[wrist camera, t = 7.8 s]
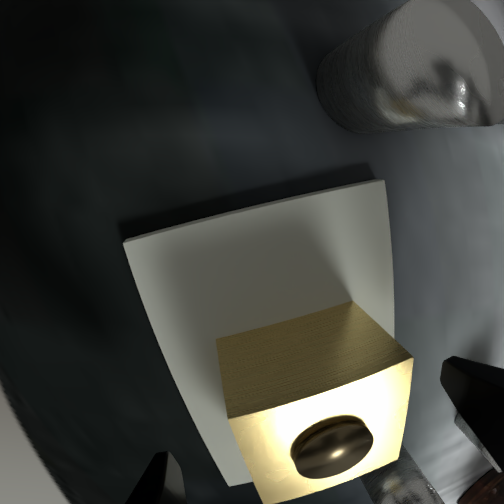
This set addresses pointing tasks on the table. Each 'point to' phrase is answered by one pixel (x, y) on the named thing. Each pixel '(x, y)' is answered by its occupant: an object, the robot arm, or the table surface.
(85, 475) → the table surface
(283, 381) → the nut
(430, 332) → the table surface
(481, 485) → the mortar and pestle
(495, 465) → the spacers
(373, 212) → the mat
